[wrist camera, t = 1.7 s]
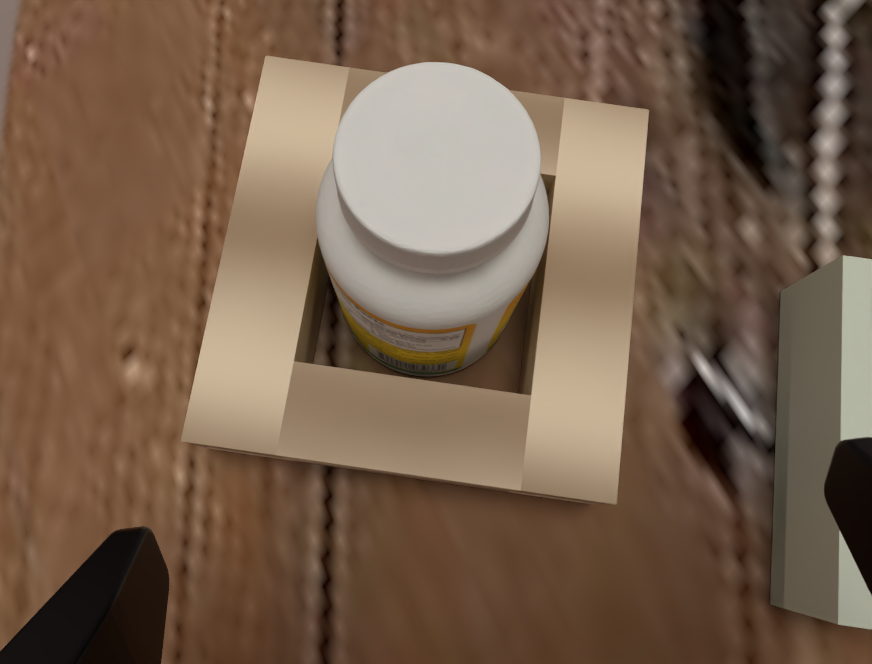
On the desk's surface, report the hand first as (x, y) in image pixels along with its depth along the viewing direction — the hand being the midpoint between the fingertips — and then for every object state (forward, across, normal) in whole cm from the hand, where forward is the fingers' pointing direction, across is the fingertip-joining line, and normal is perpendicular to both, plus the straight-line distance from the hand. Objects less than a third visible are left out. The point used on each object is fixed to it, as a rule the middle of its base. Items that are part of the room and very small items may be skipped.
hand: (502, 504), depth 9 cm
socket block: (+13, 0, +4) cm, 14 cm away
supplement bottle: (+14, 0, +4) cm, 14 cm away
